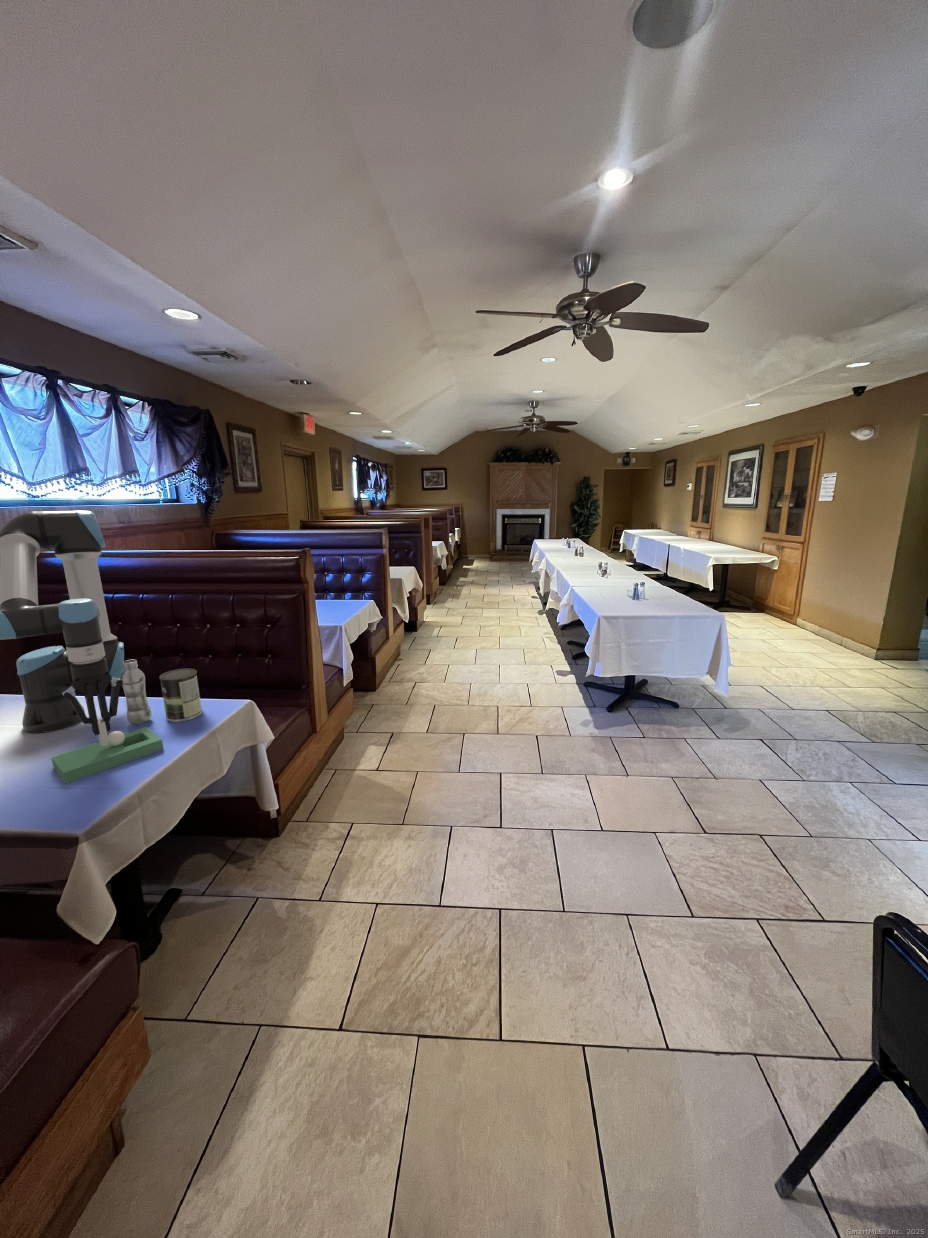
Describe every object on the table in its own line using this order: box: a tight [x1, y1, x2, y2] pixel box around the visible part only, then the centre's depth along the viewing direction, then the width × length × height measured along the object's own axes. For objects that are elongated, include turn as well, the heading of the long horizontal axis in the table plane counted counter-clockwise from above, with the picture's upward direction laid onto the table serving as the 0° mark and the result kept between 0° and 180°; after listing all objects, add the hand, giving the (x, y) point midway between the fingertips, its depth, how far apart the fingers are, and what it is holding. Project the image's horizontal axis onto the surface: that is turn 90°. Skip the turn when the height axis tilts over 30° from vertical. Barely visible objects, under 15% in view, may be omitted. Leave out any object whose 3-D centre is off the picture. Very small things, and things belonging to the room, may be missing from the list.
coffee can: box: [158, 667, 203, 723], centre depth 158 cm, size 10×10×14 cm
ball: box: [107, 730, 125, 746], centre depth 134 cm, size 4×4×4 cm
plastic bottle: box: [119, 659, 152, 725], centre depth 152 cm, size 6×7×20 cm
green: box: [50, 726, 164, 785], centre depth 133 cm, size 12×22×3 cm, turn 140°
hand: (104, 743), depth 132 cm, fingers closed
